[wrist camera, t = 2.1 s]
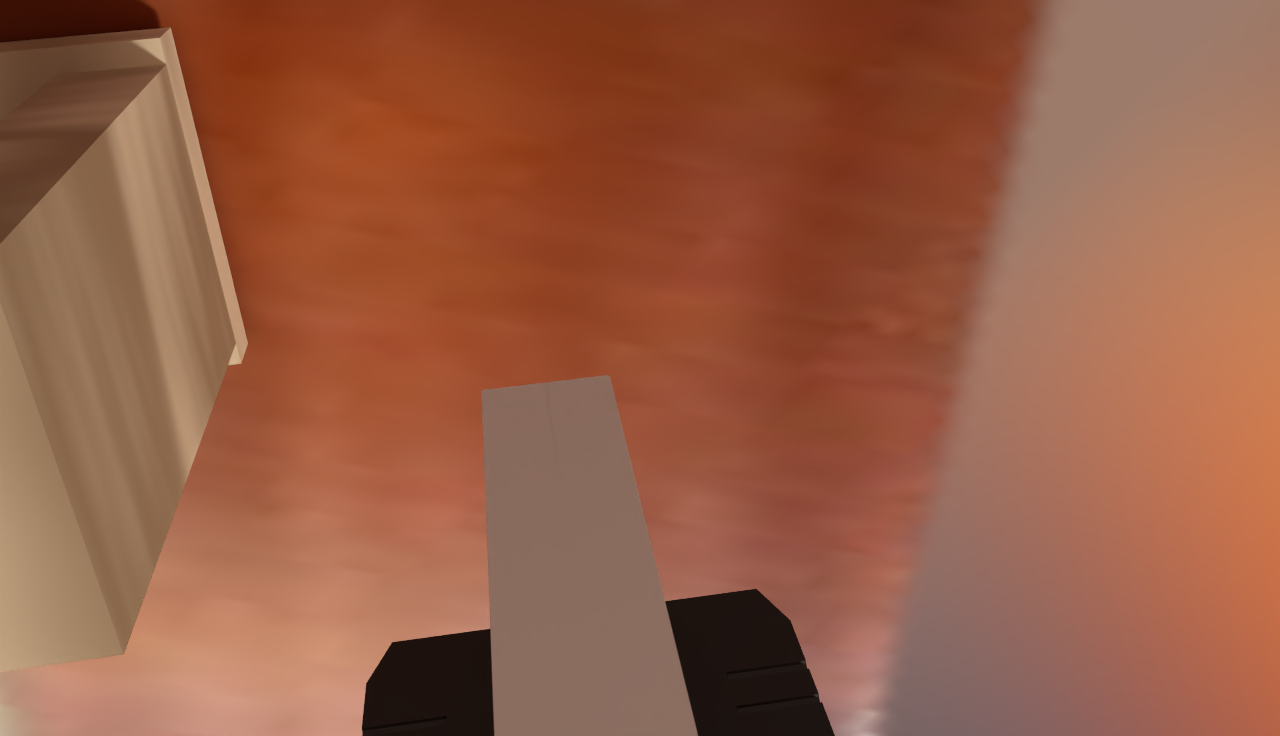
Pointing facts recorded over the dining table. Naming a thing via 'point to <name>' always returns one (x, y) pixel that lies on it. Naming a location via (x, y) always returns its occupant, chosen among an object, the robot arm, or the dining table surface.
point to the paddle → (100, 333)
